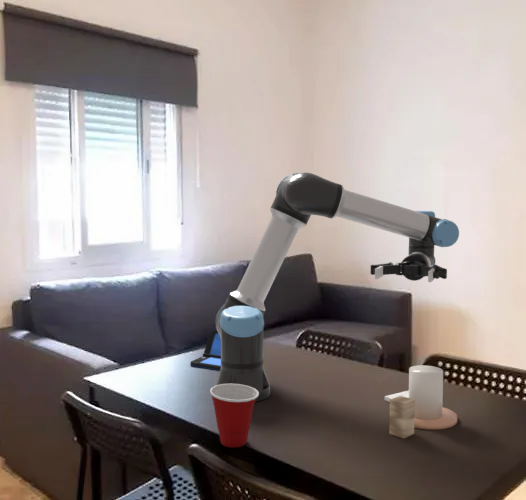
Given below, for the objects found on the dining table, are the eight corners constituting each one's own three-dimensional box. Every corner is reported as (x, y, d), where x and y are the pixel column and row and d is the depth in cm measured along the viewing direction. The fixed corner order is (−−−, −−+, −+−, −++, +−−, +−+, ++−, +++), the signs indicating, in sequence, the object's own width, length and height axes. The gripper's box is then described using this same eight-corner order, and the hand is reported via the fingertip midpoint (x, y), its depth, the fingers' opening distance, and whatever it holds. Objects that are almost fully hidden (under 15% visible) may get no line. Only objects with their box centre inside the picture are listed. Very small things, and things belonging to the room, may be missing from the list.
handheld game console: (188, 366, 198) (188, 338, 197) (210, 356, 210) (210, 329, 209) (231, 373, 191) (230, 343, 190) (251, 362, 203) (251, 334, 202)
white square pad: (384, 399, 165) (384, 396, 165) (411, 393, 171) (411, 389, 171) (412, 411, 157) (412, 407, 157) (439, 403, 162) (439, 399, 162)
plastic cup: (253, 454, 131) (253, 399, 130) (204, 450, 134) (203, 396, 132) (263, 435, 142) (263, 383, 141) (217, 431, 144) (217, 380, 143)
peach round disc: (381, 412, 156) (382, 408, 156) (431, 404, 162) (431, 400, 162) (418, 433, 143) (418, 429, 142) (470, 424, 148) (470, 419, 148)
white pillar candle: (401, 410, 154) (402, 367, 153) (428, 406, 157) (429, 363, 156) (421, 421, 147) (422, 376, 146) (449, 417, 150) (450, 372, 149)
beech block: (389, 433, 143) (389, 399, 142) (399, 428, 145) (400, 395, 145) (403, 438, 140) (404, 403, 139) (414, 433, 142) (414, 399, 142)
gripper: (460, 281, 175) (452, 292, 156) (372, 276, 185) (354, 286, 165) (461, 255, 174) (453, 263, 155) (373, 251, 184) (355, 258, 165)
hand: (402, 275), depth 160 cm, fingers open, 13 cm apart
